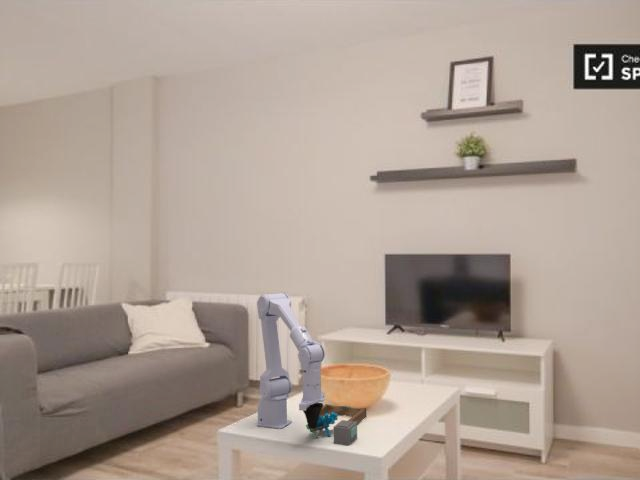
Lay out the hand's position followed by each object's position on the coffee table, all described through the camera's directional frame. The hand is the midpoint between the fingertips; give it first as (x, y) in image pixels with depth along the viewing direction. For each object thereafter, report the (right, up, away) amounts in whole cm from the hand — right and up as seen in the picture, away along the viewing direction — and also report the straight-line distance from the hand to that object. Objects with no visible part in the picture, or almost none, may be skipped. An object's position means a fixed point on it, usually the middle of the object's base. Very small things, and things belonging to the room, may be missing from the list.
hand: (312, 427), depth 176 cm
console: (+10, -4, -1) cm, 11 cm away
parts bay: (+8, -4, +18) cm, 20 cm away
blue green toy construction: (+3, -4, +6) cm, 8 cm away
